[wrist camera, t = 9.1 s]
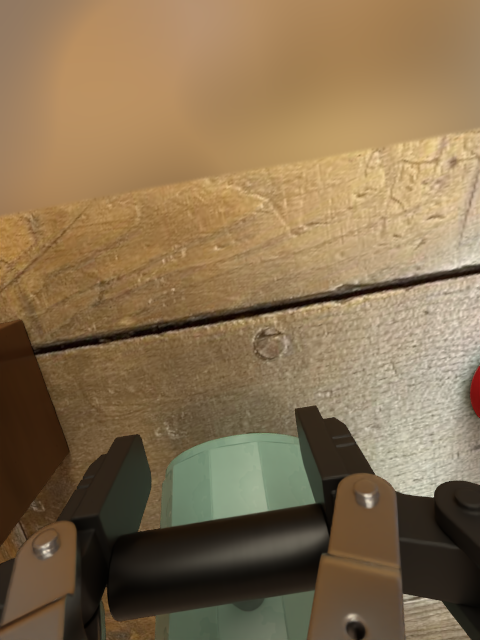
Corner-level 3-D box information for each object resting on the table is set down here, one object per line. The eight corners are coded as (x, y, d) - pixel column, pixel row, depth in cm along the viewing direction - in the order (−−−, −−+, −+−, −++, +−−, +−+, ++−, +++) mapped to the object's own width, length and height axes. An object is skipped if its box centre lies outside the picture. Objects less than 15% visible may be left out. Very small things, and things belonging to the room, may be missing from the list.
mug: (85, 376, 12) (-48, 897, 5) (330, 334, 12) (524, 812, 5) (186, 504, 23) (186, 730, 16) (316, 483, 23) (372, 702, 16)
